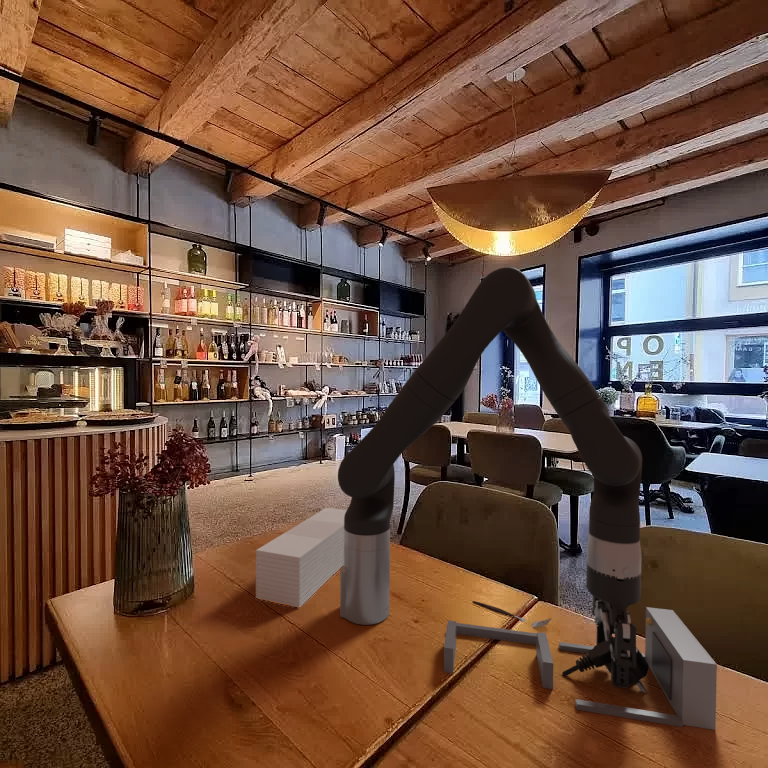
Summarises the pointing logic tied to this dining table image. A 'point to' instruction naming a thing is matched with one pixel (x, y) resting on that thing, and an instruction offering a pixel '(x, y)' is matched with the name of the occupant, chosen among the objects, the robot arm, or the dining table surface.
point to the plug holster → (501, 634)
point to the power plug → (603, 657)
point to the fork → (536, 623)
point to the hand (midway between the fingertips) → (611, 666)
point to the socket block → (669, 674)
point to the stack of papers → (301, 559)
